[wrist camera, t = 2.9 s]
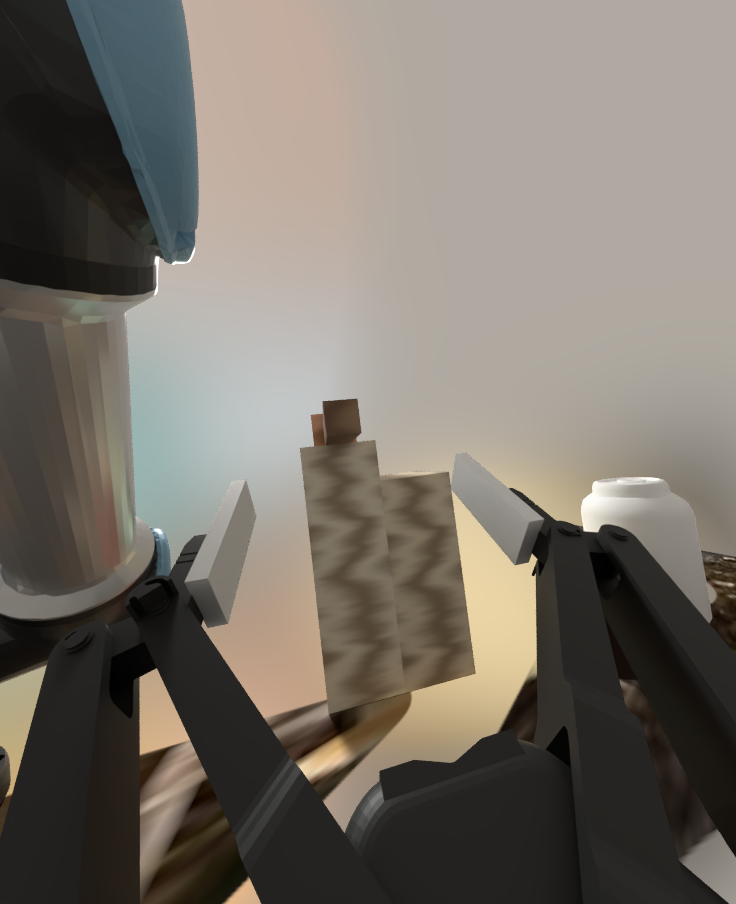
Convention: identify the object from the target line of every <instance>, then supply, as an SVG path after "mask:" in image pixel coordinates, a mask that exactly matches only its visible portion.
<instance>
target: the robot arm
mask: <svg viewBox="0 0 736 904" xmlns="http://www.w3.org/2000/svg"><path fill="white" fill-rule="evenodd" d="M195 116H196V115H195V102H194V91H193V81H192V72H191V62H190V53H189V44H188V36H187V29H186V23H185V16H184V10H183V6H182V0H0V683H3V682H5V681H8V680H10V679H13V678H15V677H18V676H20V675H23V674H26V673H28V672H31V671H33V670H36V669H39V668H41V667H44V666H46V665H47V667H46V671H45V674H44V678H43V682H42V685H41V689H40V693H39V697H38V700H37V704H36V708H35V712H34V715H33V719H32V723H31V726H30V730H29V734H28V738H27V741H26V745H25V749H24V753H23V757H22V760H21V764H20V767H19V771H18V775H17V779H16V782H15V786H14V790H13V793H12V797H11V801H10V805H9V808H8V812H7V816H6V819H5V823H4V827H3V831H2V834H1V838H0V904H140V754H139V753H140V752H139V751H140V750H139V749H140V748H139V747H140V746H139V745H140V744H139V739H140V738H139V677H140V676H142V675H144V674H146V673H148V672H150V671H152V670H154V669H156V668H157V669H158V671H159V673H160V676H161V678H162V680H163V682H164V684H165V686H166V689H167V691H168V693H169V695H170V697H171V699H172V702H173V704H174V706H175V708H176V710H177V712H178V714H179V717H180V719H181V721H182V723H183V725H184V727H185V730H186V732H187V733H188V736H189V738H190V740H191V743H192V745H193V747H194V749H195V751H196V753H197V755H198V758H199V760H200V762H201V764H202V766H203V768H204V771H205V773H206V775H207V777H208V779H209V781H210V783H211V786H212V788H213V790H214V792H215V794H216V796H217V799H218V801H219V803H220V805H221V807H222V809H223V811H224V814H225V816H226V818H227V820H228V822H229V824H230V827H231V829H232V831H233V833H234V835H235V838H236V841H237V845H238V850H239V853H240V856H241V859H242V862H243V864H244V866H245V869H246V871H247V873H248V875H249V878H250V880H251V882H252V884H253V886H254V889H255V891H256V893H257V895H258V897H259V899H260V902H261V904H729V903H728V902H726V901H725V900H724V899H723V898H722V897H720V896H719V895H718V894H717V893H716V892H715V891H713V890H712V889H711V888H710V887H709V886H707V885H706V884H705V883H704V882H703V881H702V880H701V879H699V878H698V877H697V876H696V875H695V874H693V873H692V872H691V871H690V870H689V869H688V868H687V867H685V866H684V865H683V864H682V863H681V862H680V861H679V860H678V856H677V852H676V848H675V845H674V841H673V837H672V833H671V830H670V826H669V822H668V818H667V815H666V811H665V807H664V803H663V800H662V796H661V792H660V788H659V785H658V781H657V777H656V773H655V770H654V766H653V762H652V759H651V755H650V751H649V747H648V744H647V740H646V736H645V732H644V730H643V727H642V724H641V722H640V720H639V719H638V717H637V716H636V715H635V714H633V713H631V712H629V711H628V709H627V708H626V705H625V702H624V698H623V694H622V690H621V685H620V681H619V677H618V673H617V669H616V664H615V660H614V656H613V652H612V647H611V643H610V639H609V635H608V630H607V626H606V622H605V618H606V620H607V622H608V624H609V626H610V628H611V630H612V632H613V634H614V636H615V638H616V639H617V641H618V643H619V645H620V647H621V649H622V651H623V653H624V655H625V657H626V659H627V661H628V663H629V665H630V666H631V668H632V670H633V672H634V674H635V676H636V678H637V680H638V682H639V684H640V686H641V688H642V690H643V692H644V693H645V695H646V697H647V699H648V701H649V703H650V705H651V707H652V709H653V711H654V713H655V715H656V717H657V719H658V721H659V722H660V724H661V726H662V728H663V730H664V732H665V734H666V736H667V738H668V740H669V742H670V744H671V746H672V748H673V749H674V751H675V753H676V755H677V757H678V759H679V761H680V763H681V765H682V767H683V769H684V771H685V773H686V775H687V776H688V778H689V780H690V782H691V784H692V786H693V788H694V790H695V791H696V793H697V795H698V797H699V798H700V800H701V802H702V804H703V806H704V807H705V809H706V811H707V813H708V814H709V816H710V818H711V819H712V821H713V822H714V824H715V826H716V827H717V829H718V830H719V832H720V833H721V835H722V837H723V838H724V840H725V841H726V843H727V845H728V846H729V848H730V849H731V851H732V852H733V854H734V855H735V857H736V654H735V653H734V652H733V651H732V650H731V649H730V647H729V646H728V645H727V644H726V643H725V641H724V640H723V639H722V638H721V637H720V636H719V634H718V633H717V632H716V631H715V630H714V628H713V627H712V626H711V625H710V624H709V623H708V621H707V620H706V619H705V618H704V617H703V615H702V614H701V613H700V612H699V611H698V610H697V608H696V607H695V606H694V605H693V604H692V602H691V601H690V600H689V599H688V598H687V596H686V595H685V594H684V593H683V592H682V591H681V589H680V588H679V587H678V586H677V585H676V583H675V582H674V581H673V580H672V579H671V578H670V576H669V575H668V574H667V573H666V572H665V570H664V569H663V568H662V567H661V566H660V565H659V563H658V562H657V561H656V560H655V559H654V557H653V556H652V555H651V554H650V553H649V552H648V550H647V549H646V548H645V547H644V546H643V544H642V543H641V542H640V541H639V540H638V539H637V537H636V536H635V535H633V534H632V533H631V532H629V531H628V530H626V529H624V528H622V527H619V526H615V525H611V524H604V525H602V526H601V527H600V529H599V531H598V532H586V531H582V530H581V529H580V528H578V527H577V526H575V525H573V524H571V523H568V522H564V521H556V520H554V519H553V518H552V517H551V516H550V515H548V514H547V513H546V512H545V511H543V510H542V509H541V508H540V507H539V506H537V505H535V503H533V501H531V500H529V498H528V497H526V496H525V495H524V494H523V493H521V492H519V491H517V490H515V489H513V488H509V489H508V488H507V487H506V486H505V485H503V484H502V483H501V482H500V481H499V480H498V479H496V478H495V477H494V476H493V475H492V474H491V473H489V472H488V471H487V470H486V469H485V468H484V467H482V466H481V465H480V464H479V463H478V462H476V461H475V460H474V459H473V458H472V457H470V455H468V454H467V453H461V454H456V456H455V463H454V469H453V476H452V483H451V490H453V492H454V493H455V494H456V496H457V497H458V498H459V499H460V500H461V501H462V502H463V504H464V505H465V506H466V507H467V509H468V510H469V511H470V512H471V513H472V515H473V516H474V517H475V518H476V519H477V521H478V522H479V523H480V524H481V525H482V527H483V528H484V529H485V530H486V531H487V533H488V534H489V535H490V536H491V537H492V538H493V540H494V541H495V542H496V543H497V544H498V546H499V547H500V548H501V549H502V550H503V552H504V553H505V554H506V555H507V556H508V558H509V559H510V560H511V561H512V562H513V564H514V565H518V564H523V563H528V562H529V560H530V557H531V554H533V555H534V556H535V557H536V558H537V559H538V560H537V562H536V565H535V567H534V570H533V573H532V576H534V575H535V573H536V626H537V704H538V718H537V726H536V731H535V736H534V744H532V743H530V742H527V741H523V740H519V739H517V738H516V736H515V734H514V732H513V730H512V729H509V730H506V731H503V732H500V733H497V734H494V735H491V736H488V737H484V738H482V739H480V740H479V741H478V742H477V743H476V744H475V745H474V746H472V747H471V748H470V749H469V750H468V751H467V752H466V753H464V754H463V755H462V756H461V757H460V758H459V759H458V760H457V761H455V762H453V763H444V762H432V761H420V760H412V761H409V762H406V763H403V764H400V765H397V766H394V767H390V768H387V769H384V770H381V771H380V781H379V782H378V783H377V784H376V785H374V786H373V787H372V788H371V789H370V790H369V792H368V793H367V794H366V795H365V796H364V797H363V799H362V800H361V802H360V803H359V805H358V806H357V808H356V810H355V812H354V813H353V815H352V817H351V819H350V821H349V824H348V826H347V828H346V831H345V833H344V832H343V831H342V830H341V828H340V826H339V825H338V823H337V822H336V820H335V819H334V818H333V816H332V814H331V813H330V812H329V810H328V809H327V807H326V806H325V804H324V803H323V801H322V800H321V798H320V797H319V795H318V794H317V792H316V791H315V790H314V788H313V787H312V785H311V784H310V782H309V781H308V779H307V778H306V776H305V775H304V774H303V772H302V771H301V769H300V768H299V767H298V766H297V764H296V763H295V762H294V761H293V760H292V759H291V758H290V756H289V755H288V753H287V752H286V750H285V749H284V747H283V746H282V744H281V743H280V741H279V740H278V739H277V737H276V736H275V734H274V733H273V731H272V730H271V728H270V727H269V725H268V724H267V722H266V721H265V719H264V718H263V716H262V715H261V714H260V712H259V711H258V709H257V708H256V706H255V705H254V703H253V702H252V700H251V699H250V697H249V696H248V694H247V693H246V691H245V690H244V688H243V687H242V685H241V684H240V682H239V681H238V680H237V678H236V677H235V675H234V674H233V672H232V671H231V669H230V668H229V666H228V665H227V663H226V662H225V660H224V659H223V657H222V656H221V654H220V653H219V651H218V650H217V648H216V647H215V646H214V644H213V643H212V641H211V640H210V638H209V637H208V635H207V634H206V632H205V631H204V629H203V628H202V626H201V625H202V622H203V620H204V622H205V624H206V626H207V628H210V627H215V626H219V625H224V624H228V622H229V618H230V614H231V610H232V607H233V603H234V599H235V595H236V591H237V588H238V583H239V580H240V576H241V572H242V568H243V565H244V561H245V557H246V553H247V549H248V545H249V542H250V538H251V534H252V530H253V526H254V523H255V519H256V514H255V510H254V507H253V503H252V500H251V496H250V492H249V489H248V485H247V482H246V479H245V480H237V481H232V482H231V484H230V486H229V488H228V491H227V492H226V494H225V497H224V499H223V501H222V503H221V505H220V507H219V509H218V511H217V514H216V516H215V518H214V520H213V522H212V524H211V527H210V528H209V531H208V533H207V534H205V535H198V536H194V537H193V538H192V539H191V540H190V541H189V542H188V543H187V544H186V545H185V546H184V549H183V550H182V552H181V554H180V556H179V558H178V559H177V561H176V564H175V565H174V567H173V568H172V570H171V560H170V550H169V545H168V540H167V537H166V535H165V533H164V532H163V530H161V529H158V528H149V526H148V525H147V524H146V523H145V522H144V521H142V520H141V519H139V518H138V517H136V512H135V491H134V471H133V450H132V429H131V406H130V386H129V364H128V343H127V322H126V311H127V310H128V309H130V308H132V307H134V306H136V305H138V304H140V303H141V302H143V301H145V300H147V299H149V298H151V297H153V296H155V294H156V293H157V288H158V260H159V258H162V259H164V261H165V262H167V263H170V264H175V263H187V262H189V261H190V260H191V258H192V256H193V253H194V250H195V229H196V228H197V221H198V199H199V198H198V197H199V190H198V152H197V132H196V117H195ZM604 616H605V618H604ZM10 781H11V780H10V764H9V756H8V754H7V752H6V751H5V749H4V748H3V747H1V746H0V805H1V803H2V801H3V800H4V798H5V796H6V794H7V792H8V789H9V786H10Z"/></svg>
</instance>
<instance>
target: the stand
mask: <svg viewBox="0 0 736 904" xmlns="http://www.w3.org/2000/svg"><path fill="white" fill-rule="evenodd" d="M300 452H301V461H302V471H303V480H304V490H305V499H306V508H307V517H308V525H309V536H310V544H311V554H312V562H313V572H314V582H315V591H316V600H317V609H318V618H319V628H320V636H321V646H322V655H323V664H324V674H325V683H326V691H327V701H328V710H329V714H332V713H335V712H339V711H342V710H346V709H350V708H353V707H357V706H360V705H364V704H368V703H371V702H375V701H378V700H382V699H386V698H389V697H393V696H396V695H400V694H404V693H407V692H411V691H414V690H418V689H422V688H425V687H429V686H432V685H436V684H440V683H443V682H447V681H450V680H454V679H457V678H461V677H465V676H468V675H472V674H475V666H474V658H473V651H472V643H471V636H470V628H469V621H468V613H467V606H466V598H465V590H464V583H463V575H462V568H461V560H460V553H459V546H458V538H457V530H456V523H455V515H454V508H453V500H452V493H451V485H450V478H449V472H437V471H412V472H405V473H397V474H389V475H381V476H379V468H378V459H377V451H376V444H375V440H373V441H363V442H353V443H343V444H334V445H324V446H315V447H305V448H300Z"/></svg>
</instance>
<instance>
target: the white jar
mask: <svg viewBox="0 0 736 904" xmlns="http://www.w3.org/2000/svg"><path fill="white" fill-rule="evenodd" d="M592 492H593V493H591V494H589V495H588V496H587V497H586V498H585V499H584V500H583V502H582V507H581V514H582V521H583V528H584V531H586V532H598V531H599V529H600V527H601V526H602V525H604V524H611V525H615V526H619V527H622V528H624V529H626V530H628V531H629V532H631V533H632V534H633V535H635V536H636V537H637V539H638V540H639V541H640V542H641V543H642V544H643V546H644V547H645V548H646V549H647V550H648V552H649V553H650V554H651V555H652V556H653V557H654V559H655V560H656V561H657V562H658V563H659V565H660V566H661V567H662V568H663V569H664V570H665V572H666V573H667V574H668V575H669V576H670V578H671V579H672V580H673V581H674V582H675V583H676V585H677V586H678V587H679V588H680V589H681V591H682V592H683V593H684V594H685V595H686V596H687V598H688V599H689V600H690V601H691V602H692V604H693V605H694V606H695V607H696V608H697V610H698V611H699V612H700V613H701V614H702V615H703V617H704V618H705V619H706V620H707V621H708V623H710V621H711V620H712V613H711V607H710V601H709V596H708V589H707V583H706V577H705V572H704V566H703V560H702V554H701V549H700V543H699V537H698V531H697V525H696V520H695V514H694V512H693V510H692V509H691V507H690V505H689V504H688V502H687V501H686V500H684V499H683V498H681V497H679V496H677V495H676V494H674V493H672V492H670V489H669V485H668V484H667V483H666V482H665V480H662V479H658V478H649V477H648V478H647V477H628V478H627V477H625V478H610V479H603V480H598V481H595V482H594V483H593V486H592Z"/></svg>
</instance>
